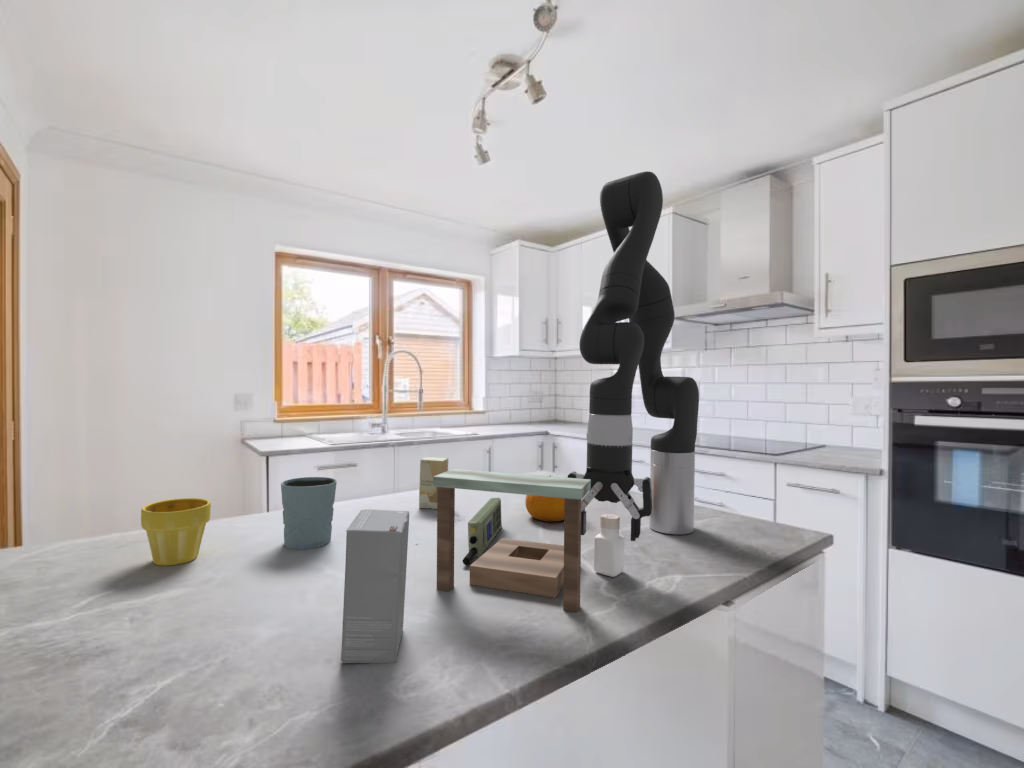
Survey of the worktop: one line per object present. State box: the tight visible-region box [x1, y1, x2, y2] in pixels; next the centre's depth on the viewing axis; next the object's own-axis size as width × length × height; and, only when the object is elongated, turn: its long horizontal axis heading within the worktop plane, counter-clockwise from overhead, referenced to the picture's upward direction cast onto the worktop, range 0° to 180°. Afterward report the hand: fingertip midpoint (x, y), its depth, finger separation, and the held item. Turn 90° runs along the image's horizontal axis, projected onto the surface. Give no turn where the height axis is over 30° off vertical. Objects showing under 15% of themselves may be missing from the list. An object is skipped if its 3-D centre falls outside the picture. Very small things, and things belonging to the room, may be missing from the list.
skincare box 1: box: [340, 509, 410, 664], centre depth 63 cm, size 8×7×16 cm
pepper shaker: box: [593, 513, 625, 578], centre depth 87 cm, size 4×4×10 cm
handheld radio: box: [462, 497, 503, 566], centre depth 101 cm, size 7×3×25 cm
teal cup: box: [280, 476, 337, 550], centre depth 101 cm, size 10×10×12 cm
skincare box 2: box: [418, 456, 449, 510], centre depth 129 cm, size 6×4×12 cm
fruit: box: [525, 495, 565, 522], centre depth 120 cm, size 12×12×10 cm
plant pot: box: [140, 497, 212, 566], centre depth 91 cm, size 10×10×10 cm
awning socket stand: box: [433, 468, 591, 613], centre depth 84 cm, size 19×23×18 cm
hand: (607, 536), depth 87 cm, fingers open, 8 cm apart
